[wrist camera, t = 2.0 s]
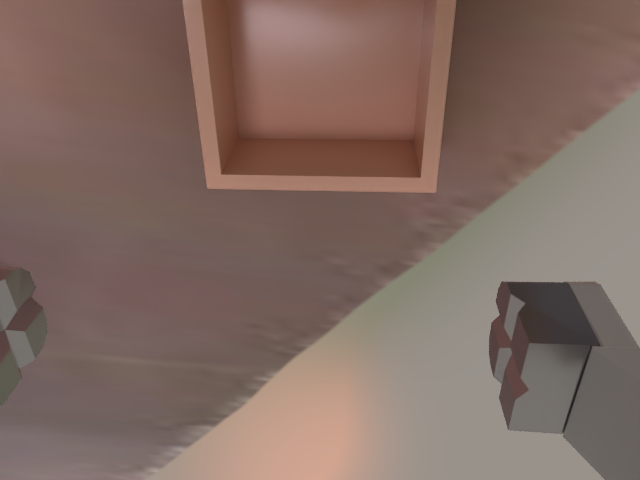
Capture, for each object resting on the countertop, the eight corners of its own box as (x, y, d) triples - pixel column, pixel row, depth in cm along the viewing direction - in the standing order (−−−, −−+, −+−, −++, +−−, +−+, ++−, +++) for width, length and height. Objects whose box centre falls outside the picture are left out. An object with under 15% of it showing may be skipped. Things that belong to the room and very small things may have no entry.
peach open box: (206, -77, 24) (172, -69, 20) (445, -79, 23) (464, -73, 19) (229, 145, 29) (207, 188, 25) (425, 147, 28) (436, 192, 24)
